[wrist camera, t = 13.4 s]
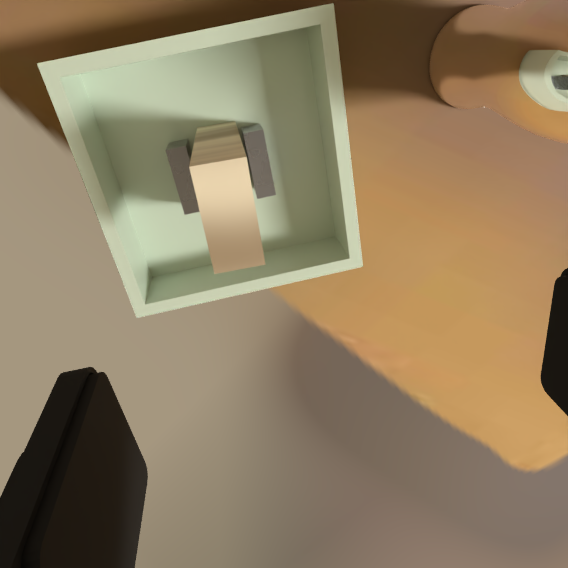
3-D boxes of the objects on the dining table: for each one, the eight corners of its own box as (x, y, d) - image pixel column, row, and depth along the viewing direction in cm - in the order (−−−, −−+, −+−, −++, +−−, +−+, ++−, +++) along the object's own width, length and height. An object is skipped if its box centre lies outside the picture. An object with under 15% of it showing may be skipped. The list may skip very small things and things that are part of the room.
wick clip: (169, 142, 29) (165, 150, 27) (259, 123, 29) (263, 129, 27) (186, 203, 31) (184, 214, 29) (271, 184, 31) (275, 194, 29)
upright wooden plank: (197, 127, 29) (189, 166, 19) (235, 121, 29) (246, 156, 19) (214, 204, 31) (214, 274, 21) (249, 197, 31) (265, 264, 21)
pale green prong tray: (65, 61, 27) (37, 63, 23) (314, 10, 28) (333, 3, 23) (146, 283, 34) (136, 317, 30) (343, 239, 35) (362, 266, 30)
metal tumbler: (403, 43, 29) (563, 36, 16) (502, -30, 28) (761, -102, 15) (448, 136, 32) (612, 196, 19) (538, 73, 31) (779, 91, 18)
